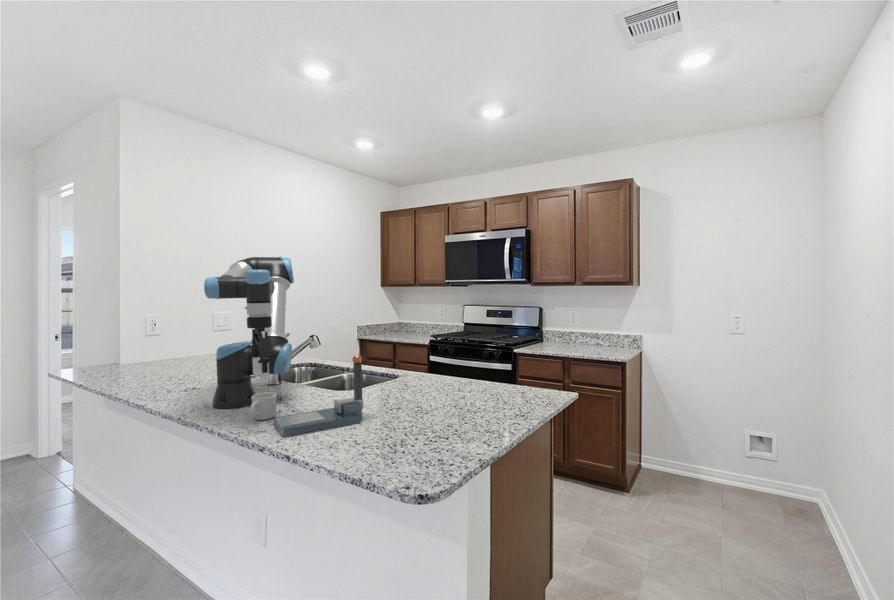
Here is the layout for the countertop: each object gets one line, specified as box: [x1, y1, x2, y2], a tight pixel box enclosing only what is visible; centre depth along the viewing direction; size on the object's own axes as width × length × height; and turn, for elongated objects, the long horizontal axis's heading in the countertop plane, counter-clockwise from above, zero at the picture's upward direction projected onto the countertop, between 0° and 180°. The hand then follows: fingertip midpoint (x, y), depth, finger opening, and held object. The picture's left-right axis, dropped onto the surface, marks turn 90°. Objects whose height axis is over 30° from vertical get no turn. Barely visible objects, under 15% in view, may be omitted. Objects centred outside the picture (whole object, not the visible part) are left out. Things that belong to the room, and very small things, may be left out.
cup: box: [249, 391, 278, 421], centre depth 148 cm, size 11×8×8 cm
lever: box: [333, 354, 364, 414], centre depth 148 cm, size 5×9×18 cm, turn 123°
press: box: [273, 402, 363, 439], centre depth 143 cm, size 14×26×6 cm, turn 122°
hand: (260, 379), depth 148 cm, fingers open, 13 cm apart
